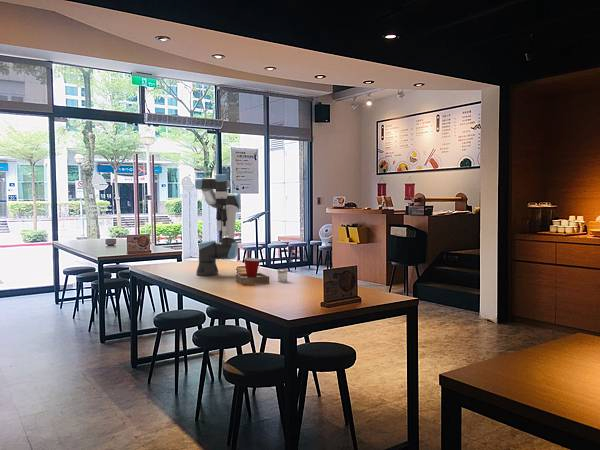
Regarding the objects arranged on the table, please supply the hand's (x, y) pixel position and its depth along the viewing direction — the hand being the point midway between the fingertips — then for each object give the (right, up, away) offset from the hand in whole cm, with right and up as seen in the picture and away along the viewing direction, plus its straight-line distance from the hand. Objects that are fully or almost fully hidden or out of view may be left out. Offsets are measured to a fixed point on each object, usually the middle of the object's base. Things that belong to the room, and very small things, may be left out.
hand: (221, 231), depth 332 cm
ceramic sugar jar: (+40, -32, -6) cm, 51 cm away
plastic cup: (+21, -29, -9) cm, 37 cm away
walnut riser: (+21, -32, -9) cm, 39 cm away
